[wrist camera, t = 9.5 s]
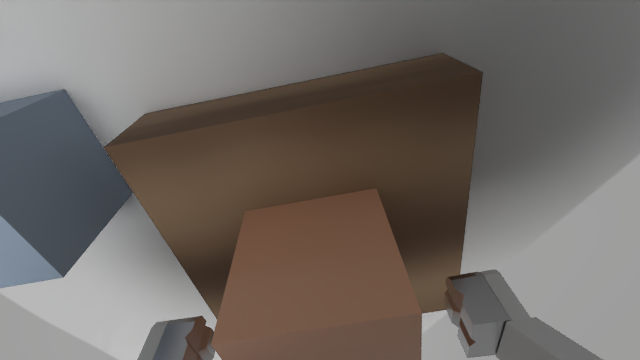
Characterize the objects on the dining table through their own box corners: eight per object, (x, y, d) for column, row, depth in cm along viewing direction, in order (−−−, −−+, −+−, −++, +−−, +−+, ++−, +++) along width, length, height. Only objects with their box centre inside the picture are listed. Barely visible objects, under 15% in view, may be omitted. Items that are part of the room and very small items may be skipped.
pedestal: (145, 113, 12) (104, 147, 10) (442, 53, 11) (482, 72, 9) (241, 294, 19) (232, 342, 16) (434, 263, 18) (456, 308, 15)
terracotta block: (245, 211, 11) (210, 344, 7) (376, 188, 11) (421, 312, 7) (278, 292, 14) (268, 423, 10) (384, 275, 14) (420, 403, 10)
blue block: (-52, 113, 12) (-245, 183, 8) (65, 88, 12) (-70, 147, 7) (37, 209, 15) (-71, 300, 10) (133, 191, 14) (63, 277, 10)
